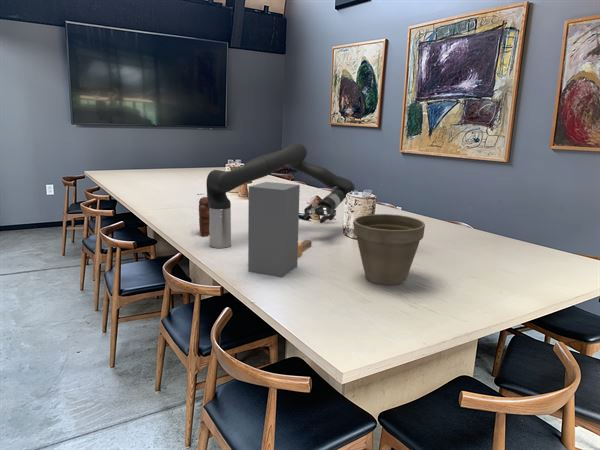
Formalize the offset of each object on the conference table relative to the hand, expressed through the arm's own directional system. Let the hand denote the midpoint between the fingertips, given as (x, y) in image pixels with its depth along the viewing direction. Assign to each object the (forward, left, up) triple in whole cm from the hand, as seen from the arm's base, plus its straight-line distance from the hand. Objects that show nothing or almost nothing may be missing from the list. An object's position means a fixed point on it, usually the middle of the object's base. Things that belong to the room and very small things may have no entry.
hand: (312, 219), depth 210 cm
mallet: (+6, -12, -12) cm, 18 cm away
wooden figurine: (-42, -32, -12) cm, 54 cm away
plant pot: (+50, -6, -12) cm, 52 cm away
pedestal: (+19, -34, -12) cm, 41 cm away
